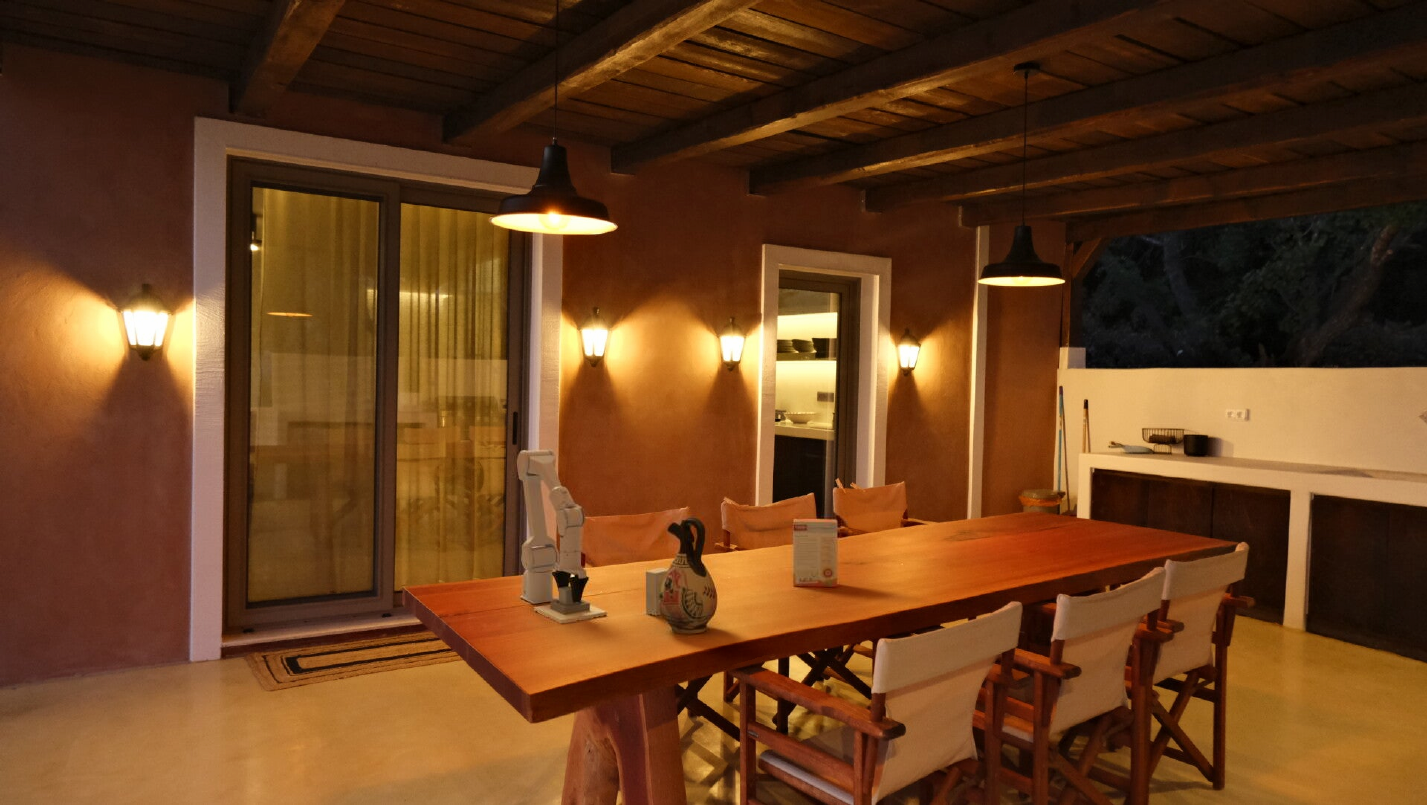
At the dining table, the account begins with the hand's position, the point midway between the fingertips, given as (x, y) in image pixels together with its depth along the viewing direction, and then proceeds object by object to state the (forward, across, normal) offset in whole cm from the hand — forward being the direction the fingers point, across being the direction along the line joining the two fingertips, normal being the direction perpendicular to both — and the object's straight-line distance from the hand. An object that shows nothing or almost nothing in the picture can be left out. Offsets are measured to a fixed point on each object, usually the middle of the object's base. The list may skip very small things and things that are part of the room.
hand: (570, 599), depth 247 cm
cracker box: (+4, +16, +79) cm, 81 cm away
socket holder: (+4, 0, 0) cm, 4 cm away
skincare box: (+4, +14, +20) cm, 25 cm away
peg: (+3, 0, 0) cm, 3 cm away
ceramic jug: (+4, +33, +17) cm, 37 cm away
